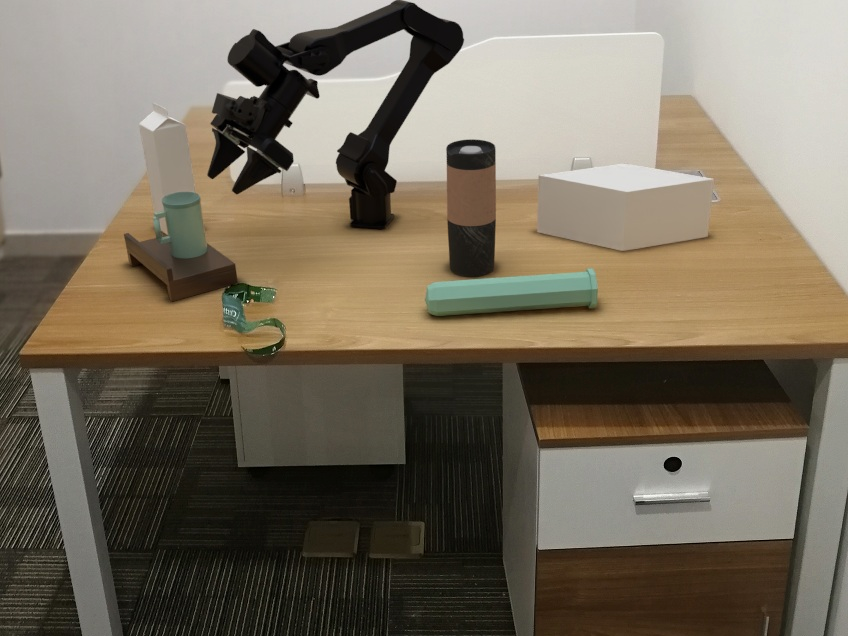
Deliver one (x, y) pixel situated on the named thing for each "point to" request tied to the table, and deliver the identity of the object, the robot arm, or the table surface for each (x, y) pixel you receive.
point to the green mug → (182, 225)
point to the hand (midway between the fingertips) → (221, 185)
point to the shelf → (182, 267)
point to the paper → (624, 206)
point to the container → (512, 293)
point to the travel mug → (471, 206)
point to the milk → (166, 157)
